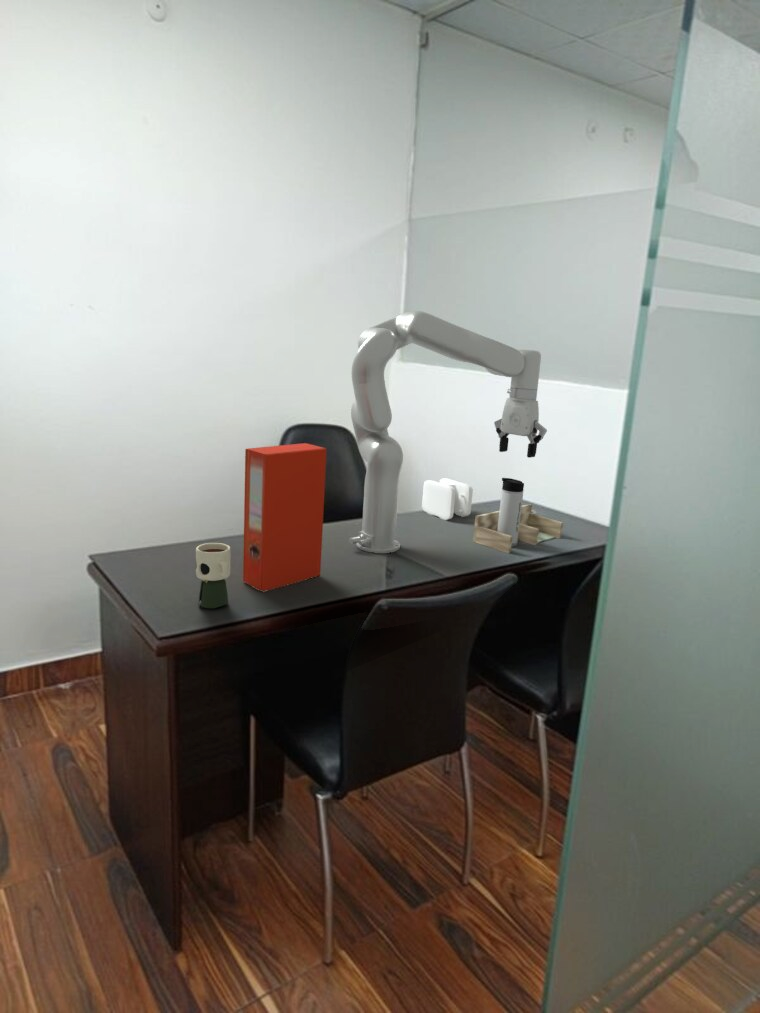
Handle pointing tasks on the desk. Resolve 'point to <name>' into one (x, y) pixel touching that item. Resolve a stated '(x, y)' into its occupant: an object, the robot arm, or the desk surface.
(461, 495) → the cable organizer
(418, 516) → the desk surface
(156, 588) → the desk surface
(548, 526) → the desk dock
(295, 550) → the file binder
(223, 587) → the character mug
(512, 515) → the travel mug
